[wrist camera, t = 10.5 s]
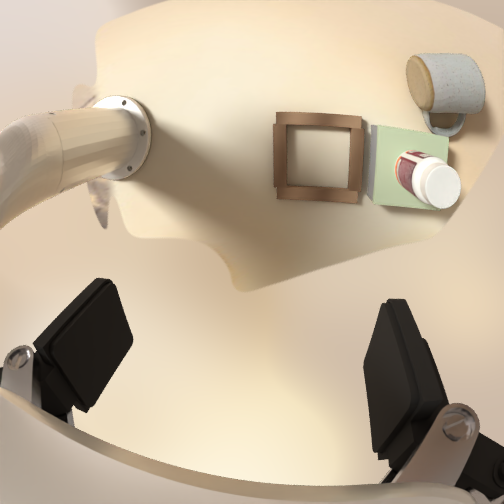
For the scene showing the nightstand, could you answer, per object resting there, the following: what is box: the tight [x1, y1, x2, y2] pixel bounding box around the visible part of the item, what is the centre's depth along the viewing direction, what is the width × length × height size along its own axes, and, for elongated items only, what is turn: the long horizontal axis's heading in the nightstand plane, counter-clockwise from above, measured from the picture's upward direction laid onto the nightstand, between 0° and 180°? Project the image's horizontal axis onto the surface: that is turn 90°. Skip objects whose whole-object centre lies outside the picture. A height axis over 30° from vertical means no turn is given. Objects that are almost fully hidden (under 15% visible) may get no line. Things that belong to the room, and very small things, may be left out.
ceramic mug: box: [406, 53, 485, 137], centre depth 23 cm, size 11×8×8 cm
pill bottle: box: [394, 150, 461, 209], centre depth 24 cm, size 5×5×8 cm
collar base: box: [273, 112, 364, 203], centre depth 32 cm, size 11×11×1 cm
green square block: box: [367, 125, 449, 211], centre depth 29 cm, size 9×9×4 cm
